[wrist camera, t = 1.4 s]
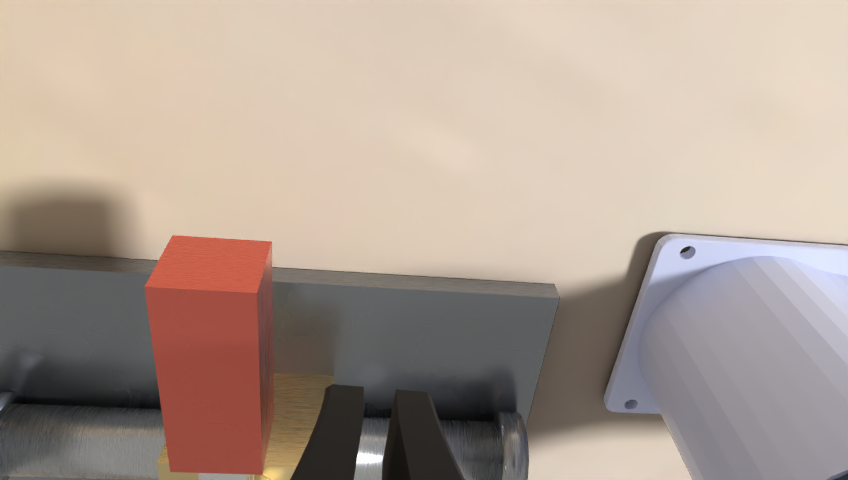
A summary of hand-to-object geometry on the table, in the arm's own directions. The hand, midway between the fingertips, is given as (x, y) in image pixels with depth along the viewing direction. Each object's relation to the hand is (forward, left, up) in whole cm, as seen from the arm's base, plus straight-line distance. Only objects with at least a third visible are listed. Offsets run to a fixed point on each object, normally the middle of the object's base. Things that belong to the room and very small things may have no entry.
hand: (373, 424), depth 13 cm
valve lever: (+4, +5, -4) cm, 7 cm away
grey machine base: (+4, +9, -9) cm, 14 cm away
